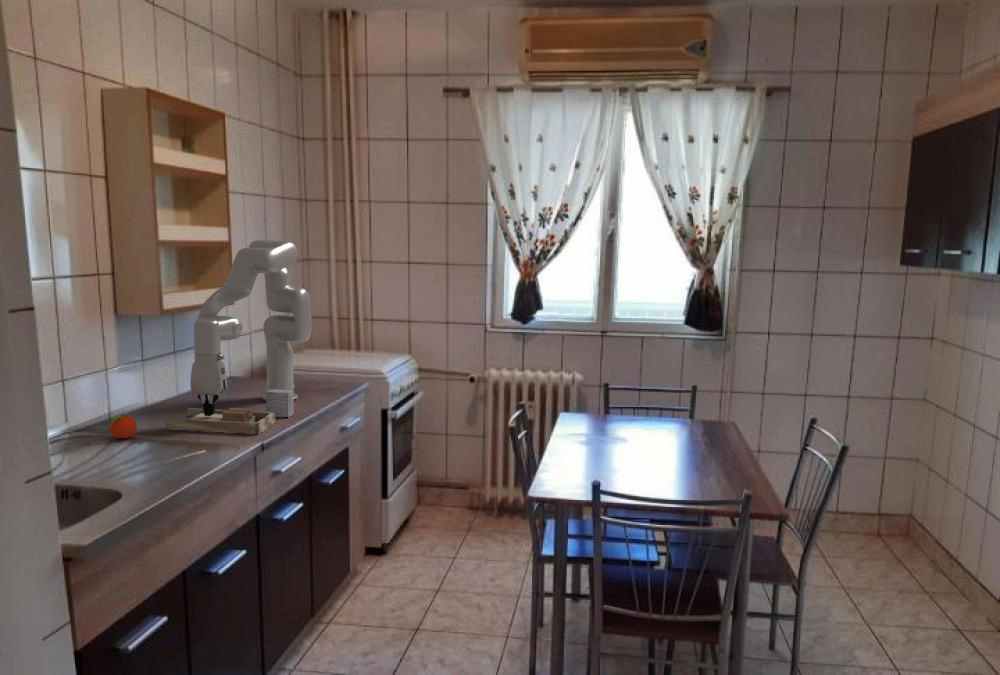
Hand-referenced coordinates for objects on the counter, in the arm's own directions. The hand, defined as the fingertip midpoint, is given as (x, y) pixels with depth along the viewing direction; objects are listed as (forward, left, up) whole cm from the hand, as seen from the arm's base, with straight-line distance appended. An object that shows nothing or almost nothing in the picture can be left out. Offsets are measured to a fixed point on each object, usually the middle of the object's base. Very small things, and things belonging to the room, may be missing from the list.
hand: (209, 414), depth 213 cm
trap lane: (0, +4, -3) cm, 5 cm away
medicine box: (-16, +17, -4) cm, 23 cm away
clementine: (+18, -17, -4) cm, 25 cm away
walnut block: (+1, +9, -1) cm, 10 cm away
